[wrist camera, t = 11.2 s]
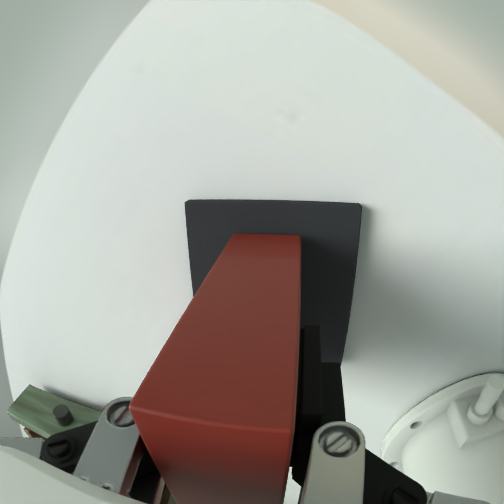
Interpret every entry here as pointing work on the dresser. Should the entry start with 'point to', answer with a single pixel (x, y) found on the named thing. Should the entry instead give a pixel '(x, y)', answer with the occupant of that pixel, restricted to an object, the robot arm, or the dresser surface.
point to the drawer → (49, 413)
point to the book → (229, 379)
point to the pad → (312, 253)
